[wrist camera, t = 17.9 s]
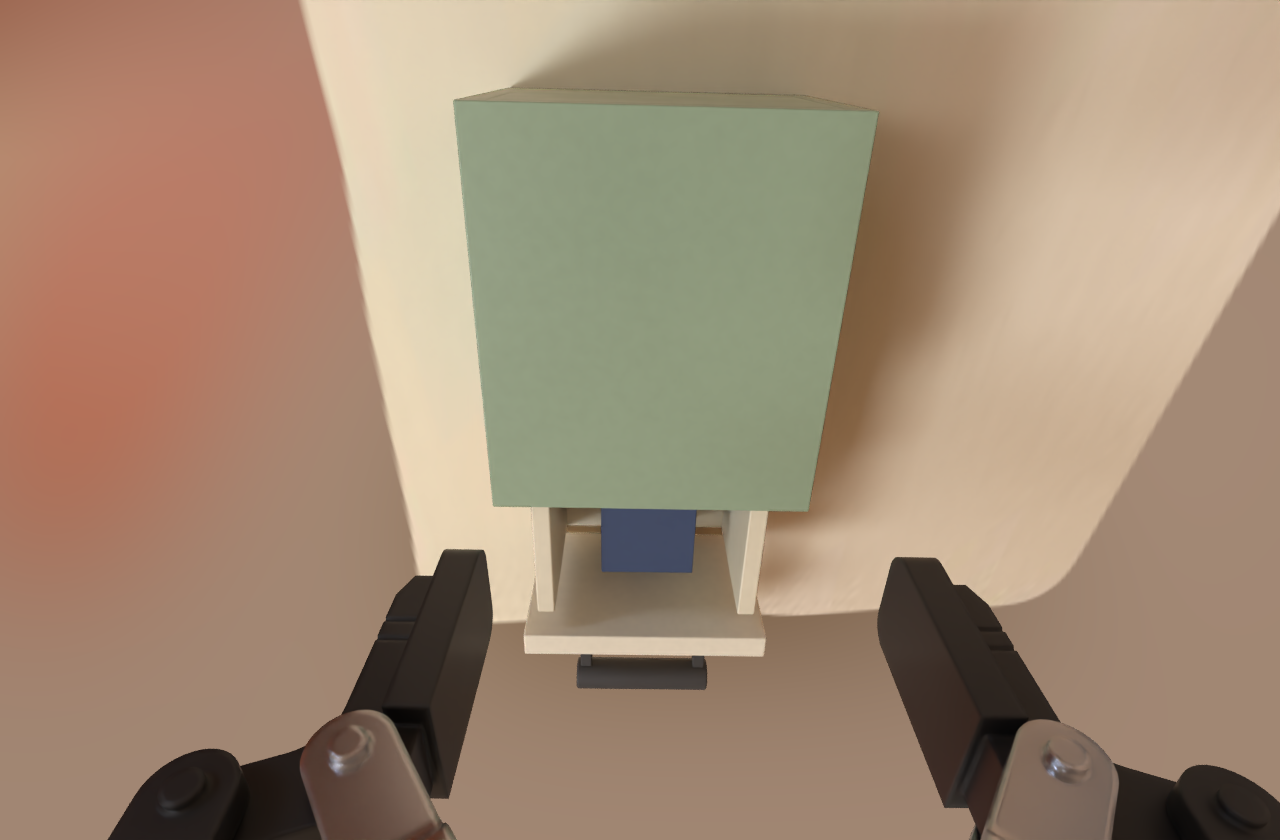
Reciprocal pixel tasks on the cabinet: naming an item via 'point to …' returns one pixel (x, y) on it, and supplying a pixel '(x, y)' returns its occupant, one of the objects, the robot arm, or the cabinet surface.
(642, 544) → the block
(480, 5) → the cabinet surface
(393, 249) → the cabinet surface
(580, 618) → the drawer
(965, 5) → the cabinet surface
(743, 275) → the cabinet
